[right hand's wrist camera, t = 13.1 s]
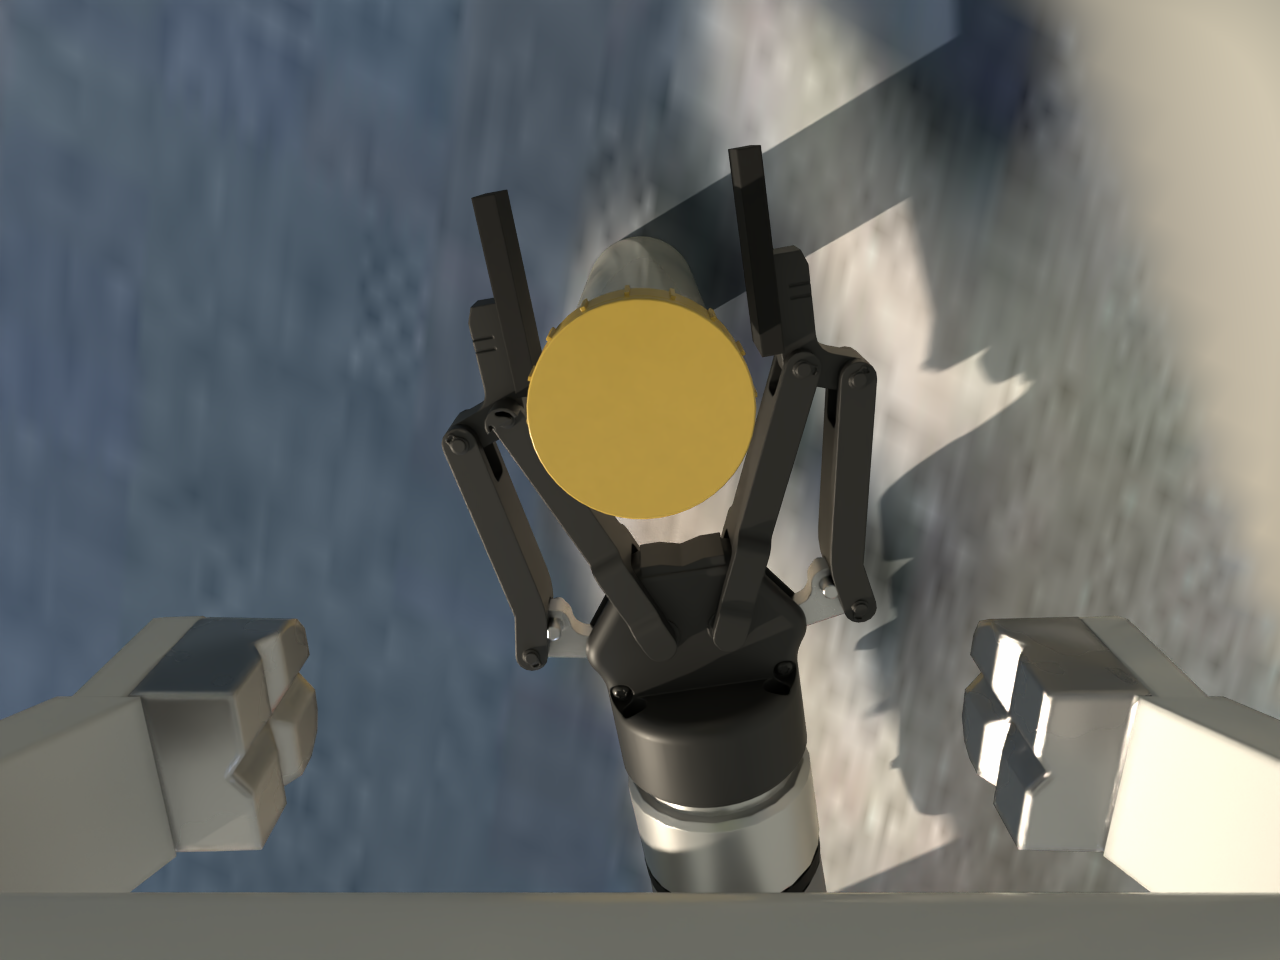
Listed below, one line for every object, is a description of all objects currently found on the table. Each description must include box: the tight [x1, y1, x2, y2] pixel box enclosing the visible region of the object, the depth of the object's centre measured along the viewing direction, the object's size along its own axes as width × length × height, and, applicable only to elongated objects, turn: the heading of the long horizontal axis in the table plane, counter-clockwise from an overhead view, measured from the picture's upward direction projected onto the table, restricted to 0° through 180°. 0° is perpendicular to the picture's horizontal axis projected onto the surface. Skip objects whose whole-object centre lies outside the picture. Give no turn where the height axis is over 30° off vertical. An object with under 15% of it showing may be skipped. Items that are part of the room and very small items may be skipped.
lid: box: [526, 285, 757, 519], centre depth 20 cm, size 5×5×2 cm
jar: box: [576, 236, 706, 309], centre depth 28 cm, size 4×4×17 cm
